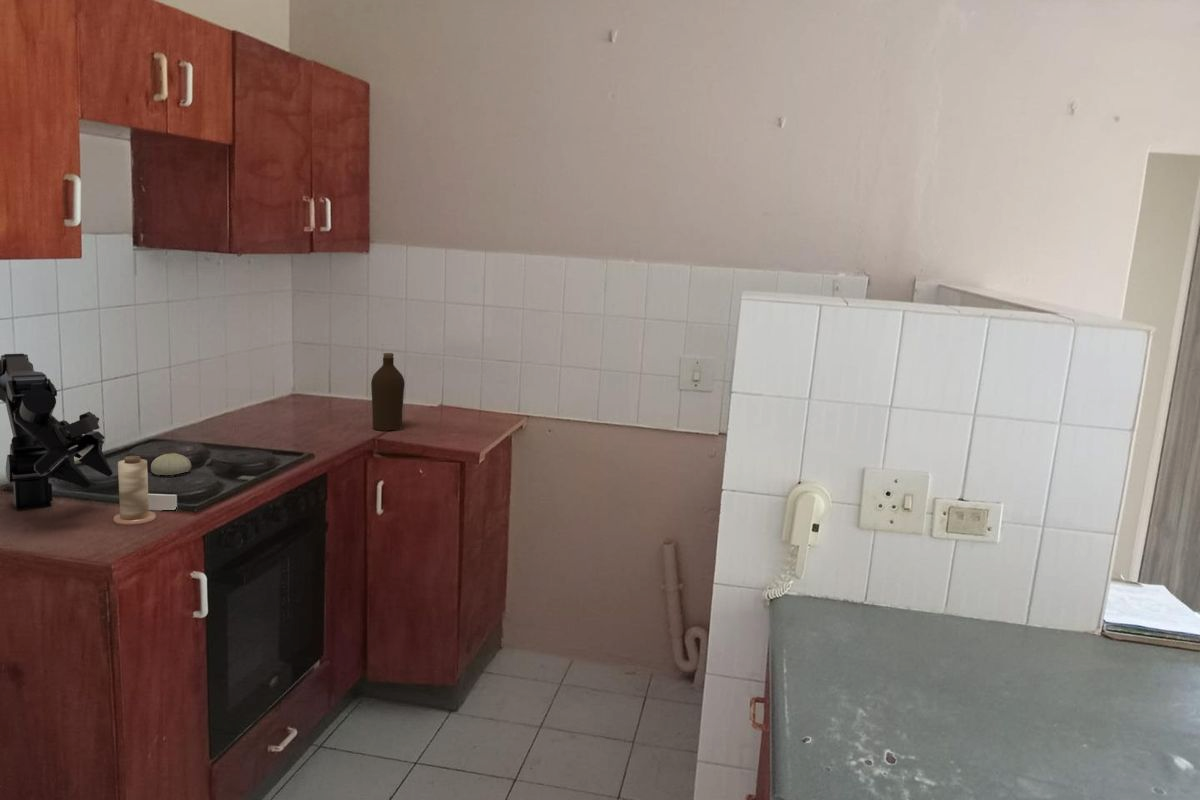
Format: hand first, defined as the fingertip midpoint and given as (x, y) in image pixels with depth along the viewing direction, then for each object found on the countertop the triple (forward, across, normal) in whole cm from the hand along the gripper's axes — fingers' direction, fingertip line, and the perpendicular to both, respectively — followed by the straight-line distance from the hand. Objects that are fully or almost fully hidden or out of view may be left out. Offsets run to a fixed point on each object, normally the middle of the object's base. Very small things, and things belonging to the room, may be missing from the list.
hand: (101, 480), depth 187 cm
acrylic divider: (+11, +6, 0) cm, 13 cm away
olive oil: (+37, +100, -25) cm, 110 cm away
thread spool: (+10, 0, 0) cm, 10 cm away
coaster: (+11, 0, +1) cm, 11 cm away
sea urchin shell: (+6, +37, +6) cm, 38 cm away
